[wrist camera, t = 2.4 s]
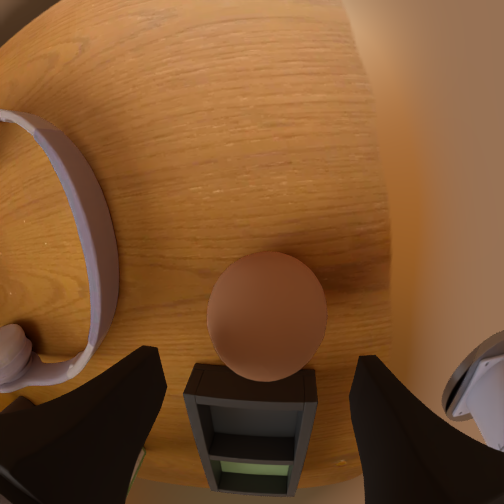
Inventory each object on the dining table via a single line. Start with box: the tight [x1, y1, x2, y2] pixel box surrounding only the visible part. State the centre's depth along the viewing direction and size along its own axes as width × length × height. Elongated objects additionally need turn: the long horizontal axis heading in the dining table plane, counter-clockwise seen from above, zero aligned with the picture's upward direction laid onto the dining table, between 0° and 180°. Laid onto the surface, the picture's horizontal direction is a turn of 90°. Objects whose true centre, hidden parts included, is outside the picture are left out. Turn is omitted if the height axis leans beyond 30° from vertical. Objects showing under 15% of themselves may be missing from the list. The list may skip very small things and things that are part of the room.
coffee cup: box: [0, 396, 34, 414], centre depth 22 cm, size 8×8×10 cm
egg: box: [207, 251, 328, 382], centre depth 13 cm, size 5×5×7 cm
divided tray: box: [183, 364, 318, 497], centre depth 19 cm, size 8×15×3 cm, turn 1°
